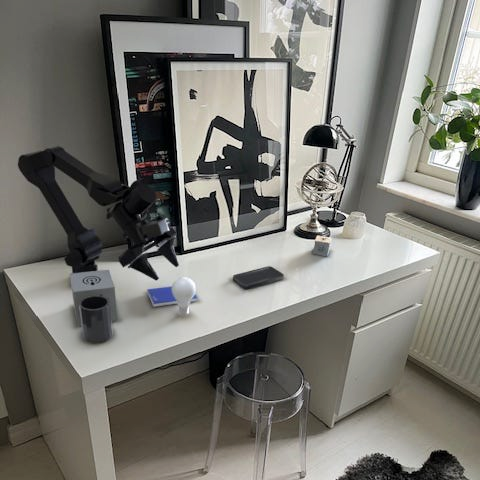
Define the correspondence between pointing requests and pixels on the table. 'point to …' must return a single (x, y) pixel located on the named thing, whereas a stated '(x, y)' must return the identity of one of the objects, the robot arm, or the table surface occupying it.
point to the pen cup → (96, 318)
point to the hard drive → (163, 296)
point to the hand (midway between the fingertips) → (167, 272)
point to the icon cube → (93, 289)
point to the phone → (258, 277)
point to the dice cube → (322, 245)
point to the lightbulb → (183, 293)
